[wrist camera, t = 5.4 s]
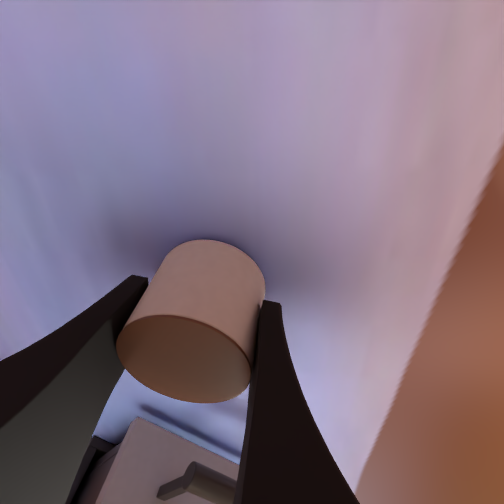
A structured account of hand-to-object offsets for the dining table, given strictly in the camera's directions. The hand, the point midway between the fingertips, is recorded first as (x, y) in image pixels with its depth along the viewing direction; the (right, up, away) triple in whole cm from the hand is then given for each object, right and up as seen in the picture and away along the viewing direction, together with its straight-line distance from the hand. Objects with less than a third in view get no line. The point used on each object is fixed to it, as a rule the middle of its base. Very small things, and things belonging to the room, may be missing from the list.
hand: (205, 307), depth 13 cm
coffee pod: (0, +1, +1) cm, 1 cm away
